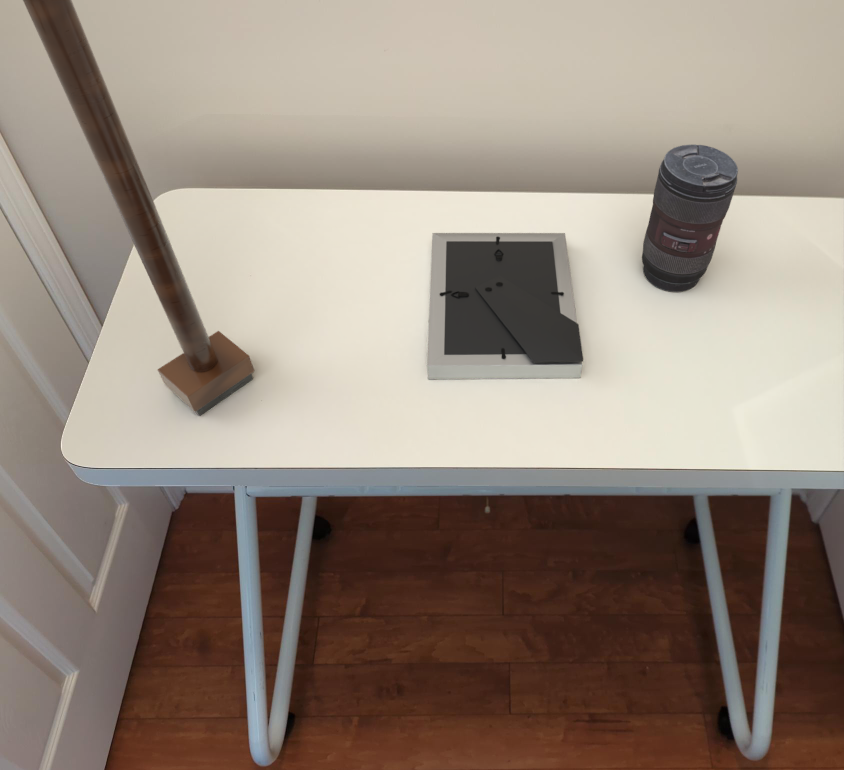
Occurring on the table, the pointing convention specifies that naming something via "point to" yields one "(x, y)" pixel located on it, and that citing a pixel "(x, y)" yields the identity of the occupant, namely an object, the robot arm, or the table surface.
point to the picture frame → (502, 307)
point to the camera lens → (687, 215)
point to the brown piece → (139, 213)
